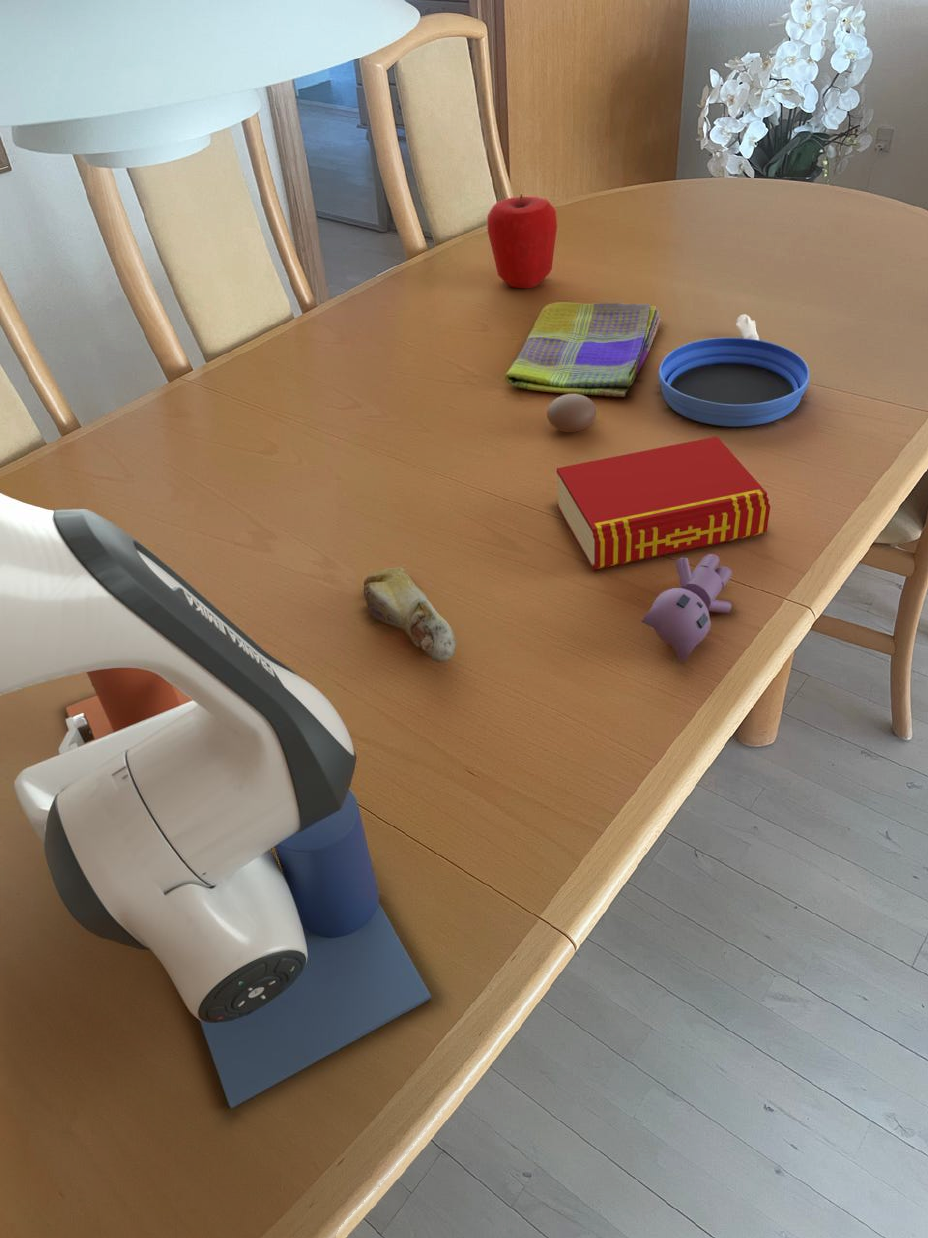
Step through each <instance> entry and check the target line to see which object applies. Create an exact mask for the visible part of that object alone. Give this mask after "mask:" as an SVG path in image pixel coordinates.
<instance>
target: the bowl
mask: <svg viewBox="0 0 928 1238" xmlns="http://www.w3.org/2000/svg"><path fill="white" fill-rule="evenodd" d="M658 380H659V385H660V388H661V390H662V391H661V392H662V397H663V399H664V401H665V402H666V404H667V405H668V407H670V408H671V409H672V410H673V411H675V413H677V414H679V415H681V416H682V417H685V418H687V419H689V420H692V421H695V422H699V423H703V424H707V425H712V426H720V427H734V428H735V427H737V428H739V427H753V426H758V425H765V424H768V423H772V422H775V421H777V420H780V419H782V418H784V417H786V416H788V415H789V414H791V413H792V412H793V411H794V410H795V409H796V408H797V407H798V406H799V404H800V403H801V400H802V396H803V395H805V392H806V390H807V388H808V385H809V382H810V368H809V366H808V364H807V362H806V361H805V359H804V358H802V357H801V356H800V355H799V354H798V353H796V352H795V351H792V350H791V349H789V348H787V347H784V346H782V345H780V344H777V343H772V342H769V341H765V340H760V339H759V340H755V339H747V338H743V337H713V338H706V339H700V340H695V341H691V342H689V343H685V344H684V345H680V346H678V347H677V348H675V349H673V350H671V351H670V352H669V353H668V354H667V355H665V357H664V358H663V359H662V361H661V363H660V365H659V369H658Z"/></svg>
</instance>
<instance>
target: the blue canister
mask: <svg viewBox="0 0 928 1238" xmlns="http://www.w3.org/2000/svg"><path fill="white" fill-rule="evenodd" d="M367 841H368V840H367V837H366V832H365V828H364V824H363V820H362V816H361V812H360V807H359V803H358V800H357V798H356V795H355V794H354V792H353V791H352V790H351V789H350V788H349V790H348V793H347V795H346V798H345V800H344V803H343V805H342V808H341V810H339V811H337V812H336V813H334V814H332V815H330V816H328V817H326V818H325V819H323V820H321V821H319V822H317V823H316V824H314V825H312V826H310V827H308V828H307V829H305V830H303V831H301V832H299V833H296V832H295V833H294V834H292V835H291V836H289V837H288V838H286V839H285V840H283V841H282V842H280V843H279V844H277V845H276V846H274V847H273V848H274V850H275V853H276V857H277V859H278V863H279V866H280V868H281V870H282V873H283V875H284V877H285V880H286V882H287V884H288V887H289V889H290V892H291V894H292V897H293V900H294V903H295V905H296V908H297V912H298V915H299V918H300V922H301V923H302V925H303V926H304V927H305V928H306V929H307V930H308V931H310V932H312V933H313V934H316V935H318V936H321V937H327V938H335V937H342V936H346V935H349V934H351V933H353V932H355V931H357V930H359V929H360V928H362V927H363V926H364V925H365V924H366V923H367V922H368V921H369V920H370V919H371V917H372V916H373V914H374V913H375V911H376V908H377V905H378V902H380V901H379V900H380V891H379V888H378V883H377V878H376V875H375V870H374V865H373V862H372V858H371V853H370V849H369V846H368V842H367Z"/></svg>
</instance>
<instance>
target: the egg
mask: <svg viewBox="0 0 928 1238" xmlns="http://www.w3.org/2000/svg"><path fill="white" fill-rule="evenodd" d="M596 416H597V406H596V405H595V402H593V400H591V399H590V398H589V397H588V396H585V395H584V394H569V393H565V394H563V395H560V396H557V397H556V398H554V400H553V401H551V402H550V404H549V405H548V407H547V410H546V418H547V420H548V422H549V423H550V425H551V426H552V427H553V428H554V429H556V430H559V431H561V432H565V433H576V432H580V431H583V430H585V429H587V428H589V427H590V426H591V425H592V424H593V423H594V421H595V419H596Z"/></svg>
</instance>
